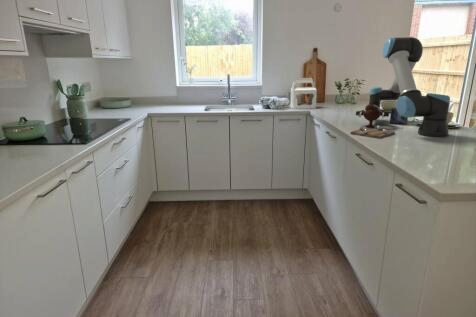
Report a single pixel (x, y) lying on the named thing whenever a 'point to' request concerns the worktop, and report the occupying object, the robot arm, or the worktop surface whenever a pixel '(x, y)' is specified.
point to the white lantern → (303, 90)
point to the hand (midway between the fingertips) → (371, 115)
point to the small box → (397, 117)
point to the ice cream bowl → (371, 114)
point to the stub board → (372, 132)
